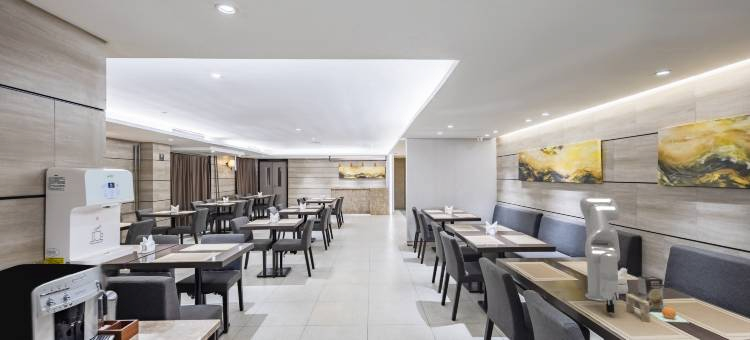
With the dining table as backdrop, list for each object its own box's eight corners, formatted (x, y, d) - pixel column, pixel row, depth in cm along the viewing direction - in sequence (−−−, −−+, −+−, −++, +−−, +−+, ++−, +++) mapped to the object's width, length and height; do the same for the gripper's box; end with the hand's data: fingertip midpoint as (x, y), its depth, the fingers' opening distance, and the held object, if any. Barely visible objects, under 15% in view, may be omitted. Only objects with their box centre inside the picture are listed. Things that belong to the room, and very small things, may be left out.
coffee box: (647, 309, 189) (646, 279, 190) (638, 305, 196) (637, 276, 196) (664, 308, 190) (662, 279, 190) (654, 304, 196) (653, 276, 197)
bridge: (643, 321, 173) (642, 302, 173) (626, 310, 187) (625, 293, 188) (649, 321, 173) (649, 303, 173) (632, 311, 187) (632, 293, 187)
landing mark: (647, 312, 185) (647, 312, 185) (672, 313, 183) (672, 313, 183) (662, 321, 173) (662, 321, 173) (689, 322, 171) (689, 322, 171)
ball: (673, 314, 178) (663, 318, 179) (667, 304, 179) (657, 308, 180) (680, 317, 173) (669, 322, 174) (674, 307, 174) (663, 311, 175)
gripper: (594, 272, 190) (595, 306, 190) (608, 280, 176) (610, 317, 175) (609, 273, 189) (610, 307, 189) (625, 280, 175) (626, 317, 174)
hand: (610, 312), depth 182 cm, fingers closed
